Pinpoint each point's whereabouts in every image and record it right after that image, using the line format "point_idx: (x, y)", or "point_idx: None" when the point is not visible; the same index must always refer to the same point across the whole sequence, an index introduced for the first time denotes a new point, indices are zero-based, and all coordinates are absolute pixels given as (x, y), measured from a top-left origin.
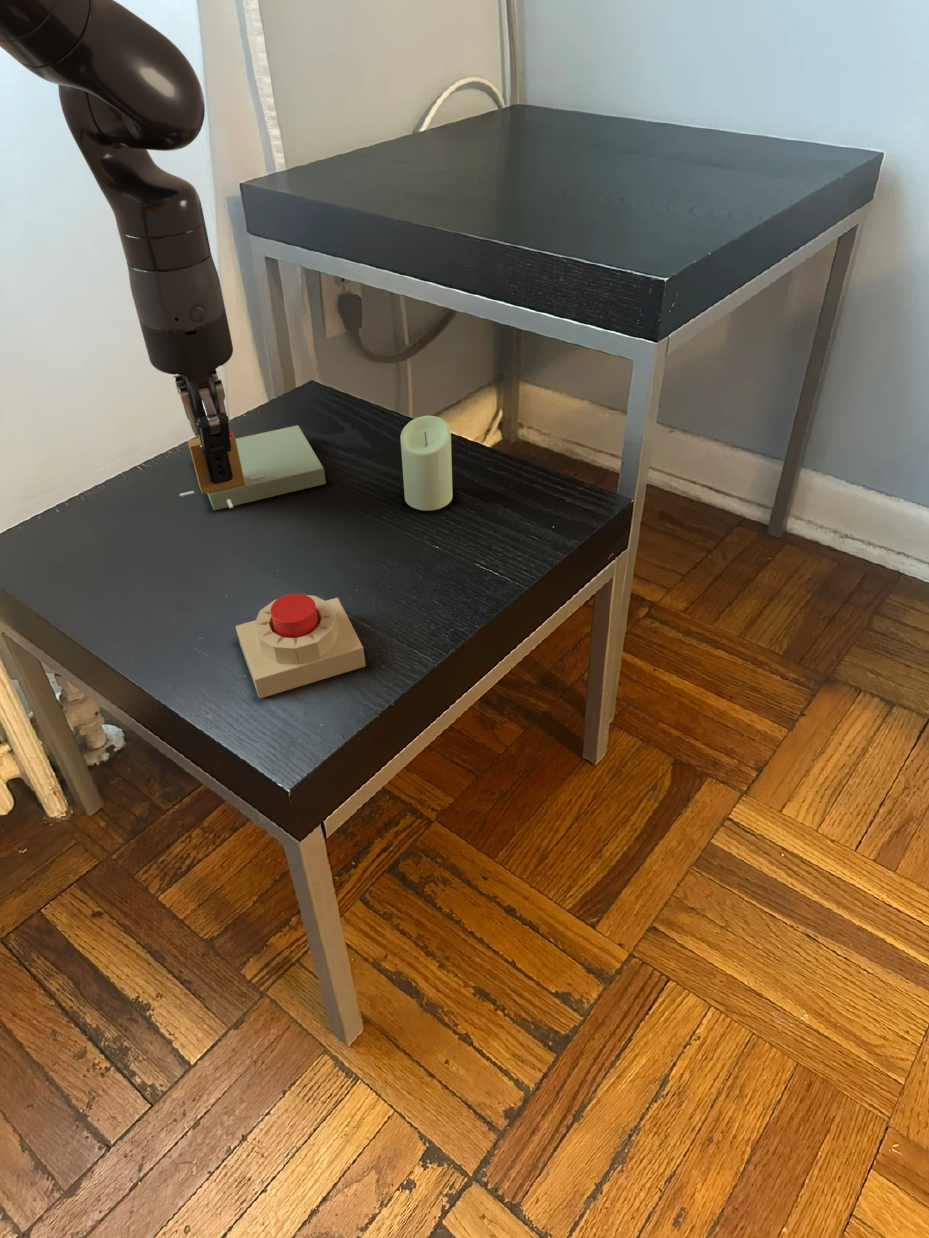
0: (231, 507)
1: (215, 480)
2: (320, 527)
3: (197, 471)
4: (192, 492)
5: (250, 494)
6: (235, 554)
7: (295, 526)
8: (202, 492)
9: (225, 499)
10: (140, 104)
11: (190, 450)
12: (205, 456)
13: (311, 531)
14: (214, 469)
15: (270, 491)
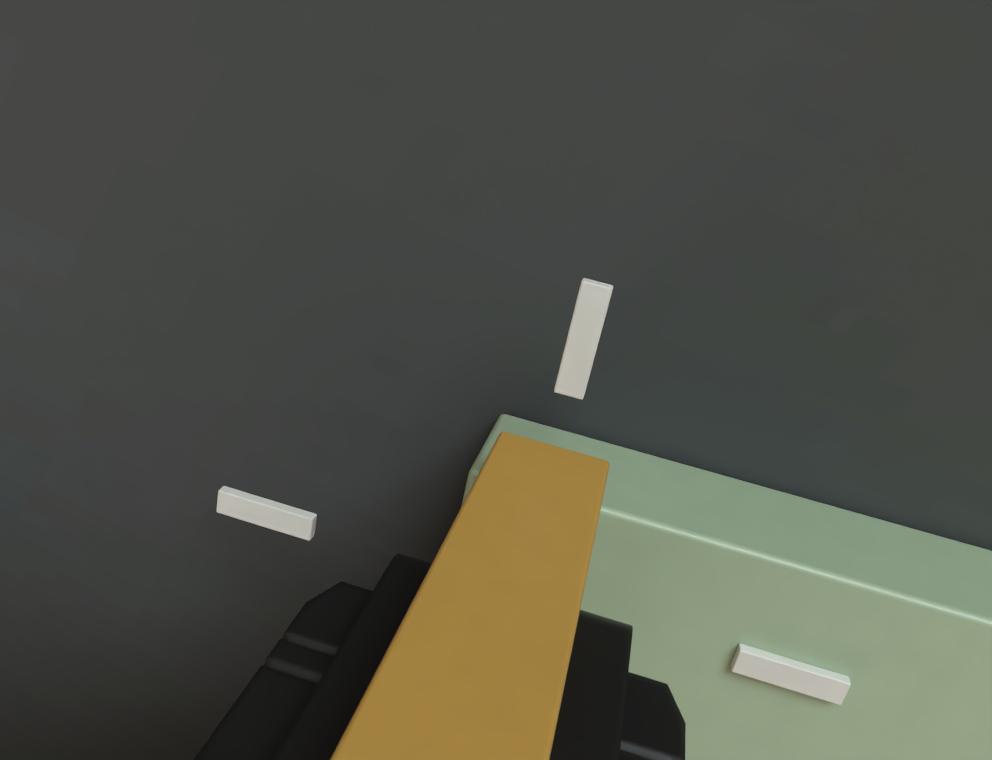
0: (223, 499)
1: (341, 588)
2: (64, 716)
3: (445, 550)
4: (561, 383)
5: None
6: (19, 298)
7: (121, 648)
8: (496, 441)
9: None
10: None
11: (494, 714)
12: (281, 750)
13: (51, 673)
14: (268, 672)
15: None
